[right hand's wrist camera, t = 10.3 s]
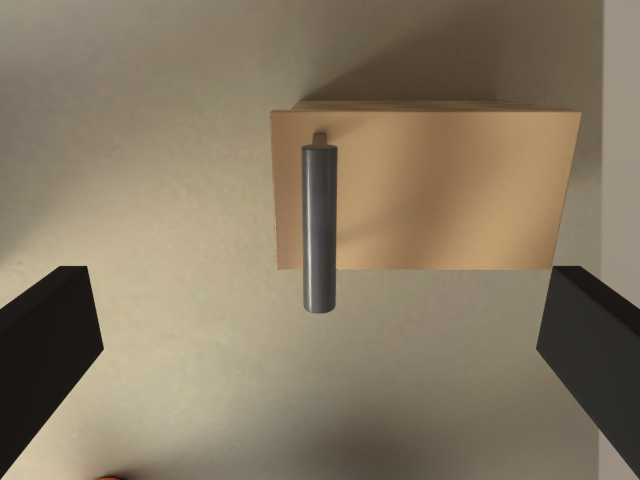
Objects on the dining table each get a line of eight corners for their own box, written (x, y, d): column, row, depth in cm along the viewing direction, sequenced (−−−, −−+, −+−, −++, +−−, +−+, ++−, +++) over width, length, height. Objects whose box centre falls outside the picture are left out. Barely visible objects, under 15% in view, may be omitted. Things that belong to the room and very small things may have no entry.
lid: (277, 261, 27) (261, 332, 20) (272, 109, 24) (250, 124, 17) (541, 262, 27) (625, 332, 20) (571, 109, 24) (684, 124, 17)
